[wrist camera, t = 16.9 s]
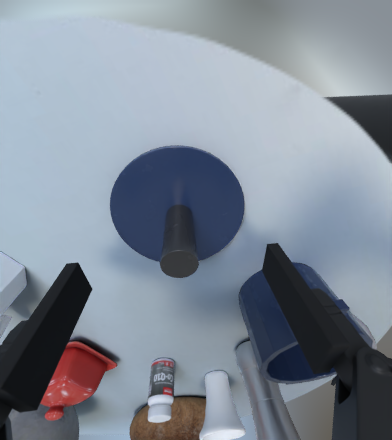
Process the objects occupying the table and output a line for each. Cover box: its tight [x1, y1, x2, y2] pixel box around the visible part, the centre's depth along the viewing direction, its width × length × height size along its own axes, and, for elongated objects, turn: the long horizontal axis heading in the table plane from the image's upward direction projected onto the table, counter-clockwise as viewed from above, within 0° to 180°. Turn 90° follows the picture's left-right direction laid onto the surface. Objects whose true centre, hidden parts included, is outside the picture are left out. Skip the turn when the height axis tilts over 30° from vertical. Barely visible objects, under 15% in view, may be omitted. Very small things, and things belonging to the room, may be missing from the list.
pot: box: [239, 263, 373, 384], centre depth 26 cm, size 13×18×10 cm
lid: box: [110, 146, 244, 278], centre depth 17 cm, size 14×14×8 cm
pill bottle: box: [148, 358, 175, 423], centre depth 36 cm, size 5×5×8 cm
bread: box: [130, 397, 206, 440], centre depth 52 cm, size 26×27×10 cm
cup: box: [199, 371, 246, 440], centre depth 41 cm, size 9×9×10 cm
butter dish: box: [40, 341, 117, 421], centre depth 32 cm, size 12×12×8 cm
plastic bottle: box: [236, 341, 301, 440], centre depth 30 cm, size 6×7×20 cm
